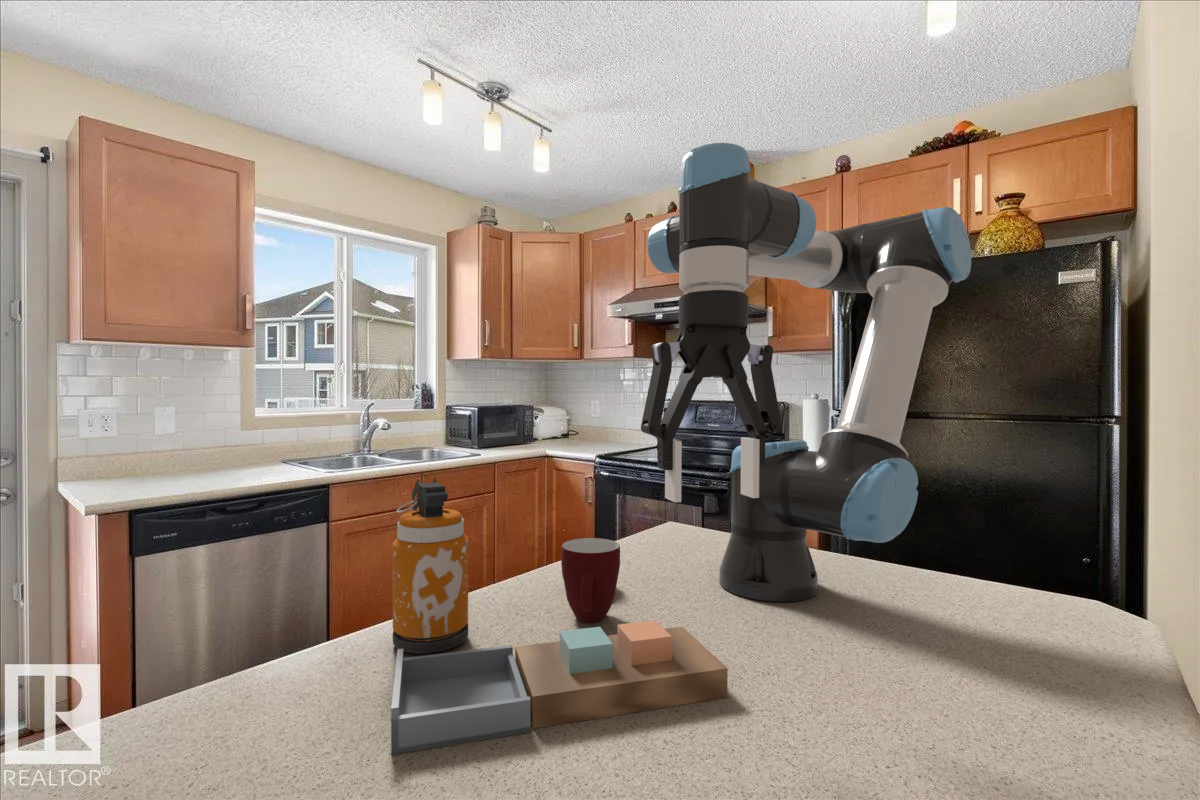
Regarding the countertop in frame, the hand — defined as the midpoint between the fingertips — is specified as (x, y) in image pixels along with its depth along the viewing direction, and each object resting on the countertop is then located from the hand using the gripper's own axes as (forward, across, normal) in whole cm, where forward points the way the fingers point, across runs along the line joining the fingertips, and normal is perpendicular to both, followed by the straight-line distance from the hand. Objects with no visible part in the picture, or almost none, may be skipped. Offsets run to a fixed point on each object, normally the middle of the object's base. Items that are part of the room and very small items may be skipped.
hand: (712, 497), depth 65 cm
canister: (+20, +30, -18) cm, 40 cm away
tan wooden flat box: (+19, +11, 0) cm, 22 cm away
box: (+19, +27, 0) cm, 33 cm away
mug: (+20, +9, -18) cm, 28 cm away
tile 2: (+16, +8, 0) cm, 18 cm away
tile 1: (+16, +14, 0) cm, 22 cm away
